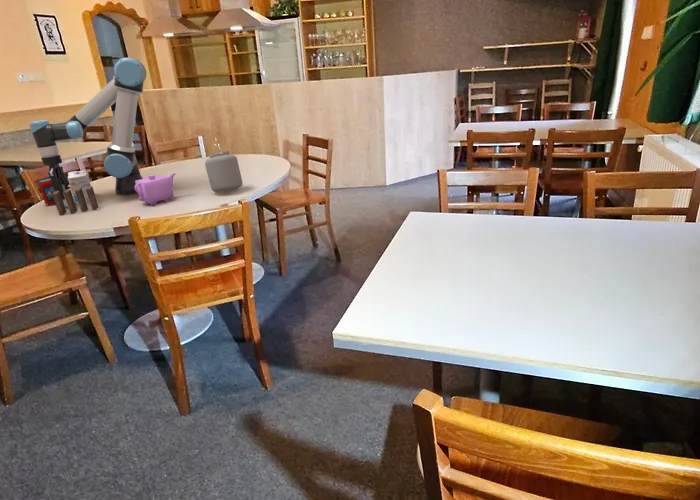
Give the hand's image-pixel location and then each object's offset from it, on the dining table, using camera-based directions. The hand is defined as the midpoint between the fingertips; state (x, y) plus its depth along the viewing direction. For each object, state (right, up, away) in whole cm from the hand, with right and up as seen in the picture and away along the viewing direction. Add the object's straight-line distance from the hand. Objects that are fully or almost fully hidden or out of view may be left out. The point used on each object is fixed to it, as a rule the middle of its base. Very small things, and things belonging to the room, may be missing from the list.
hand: (67, 204), depth 215 cm
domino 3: (+9, -4, -10) cm, 14 cm away
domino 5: (+18, -3, -8) cm, 20 cm away
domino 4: (+13, -4, -9) cm, 17 cm away
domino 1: (+5, -5, -11) cm, 13 cm away
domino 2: (0, -1, 0) cm, 1 cm away
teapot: (+47, +1, -5) cm, 47 cm away
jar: (+75, +6, +2) cm, 76 cm away
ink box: (-1, +5, +15) cm, 16 cm away
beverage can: (-12, +1, +8) cm, 14 cm away
